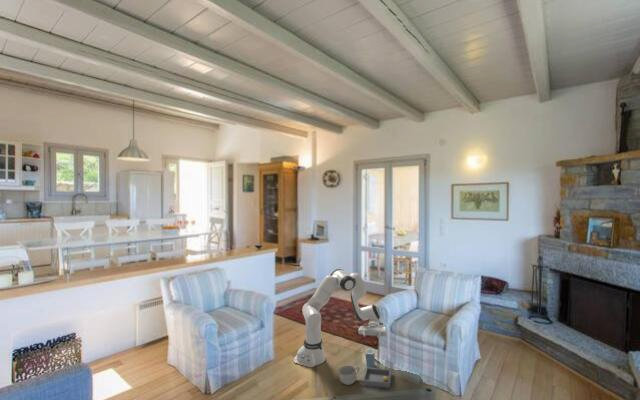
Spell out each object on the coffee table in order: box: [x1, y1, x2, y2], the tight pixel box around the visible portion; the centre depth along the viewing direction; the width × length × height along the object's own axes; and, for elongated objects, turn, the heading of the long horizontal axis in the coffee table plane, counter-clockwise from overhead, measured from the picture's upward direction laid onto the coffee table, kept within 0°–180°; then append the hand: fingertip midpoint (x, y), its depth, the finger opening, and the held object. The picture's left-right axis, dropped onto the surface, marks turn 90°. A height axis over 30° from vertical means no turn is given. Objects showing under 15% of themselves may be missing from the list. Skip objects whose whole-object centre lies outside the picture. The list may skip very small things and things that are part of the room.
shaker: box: [365, 349, 376, 368], centre depth 213 cm, size 5×5×10 cm
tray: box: [362, 366, 393, 390], centre depth 198 cm, size 16×14×4 cm
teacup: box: [338, 364, 360, 386], centre depth 199 cm, size 14×11×8 cm
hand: (371, 336), depth 224 cm, fingers open, 8 cm apart
